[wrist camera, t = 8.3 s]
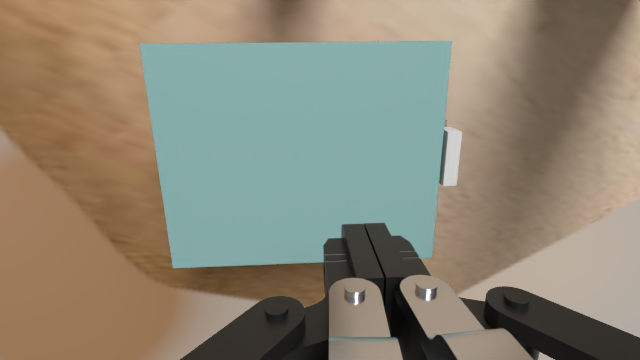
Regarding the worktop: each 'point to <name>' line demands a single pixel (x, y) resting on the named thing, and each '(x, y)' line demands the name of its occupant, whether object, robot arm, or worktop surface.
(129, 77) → the worktop surface
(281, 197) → the lid
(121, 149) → the worktop surface
